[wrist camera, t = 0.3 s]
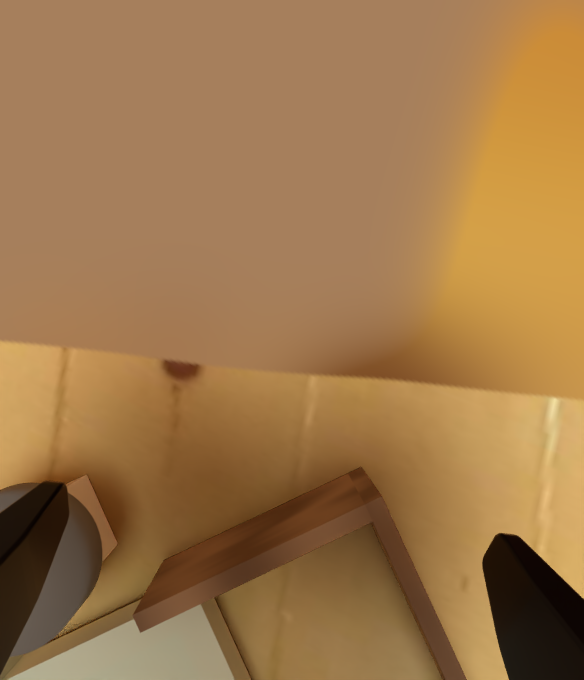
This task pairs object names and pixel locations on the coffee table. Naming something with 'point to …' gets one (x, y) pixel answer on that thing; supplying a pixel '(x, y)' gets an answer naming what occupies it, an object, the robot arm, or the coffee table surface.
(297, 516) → the holder
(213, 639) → the tray
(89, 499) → the block
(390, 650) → the coffee table surface
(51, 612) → the cylinder
